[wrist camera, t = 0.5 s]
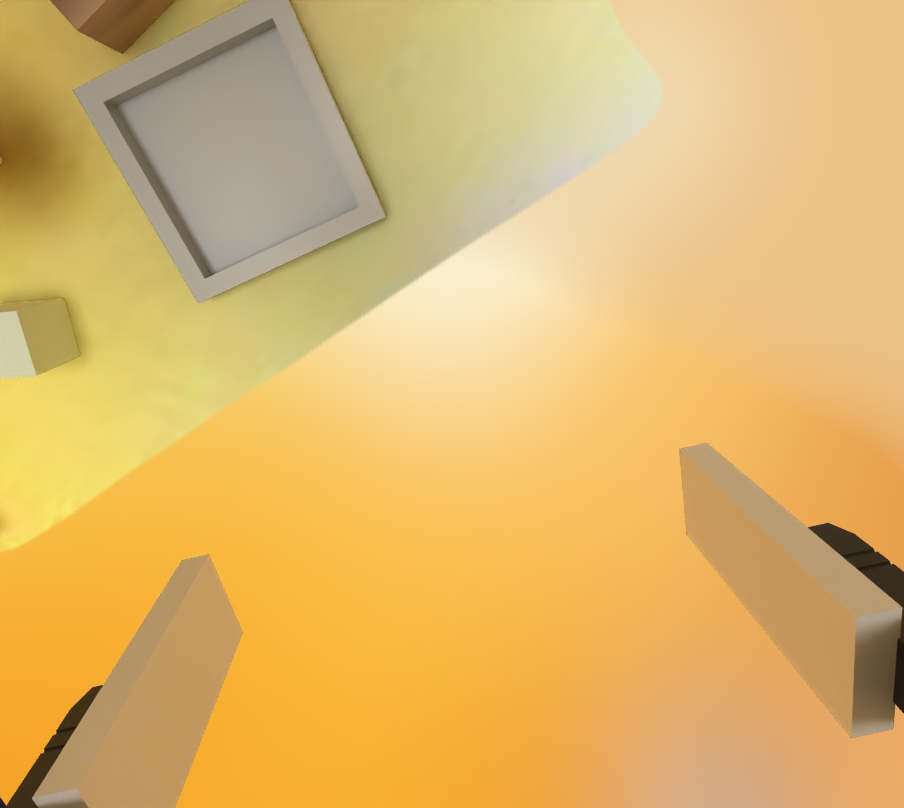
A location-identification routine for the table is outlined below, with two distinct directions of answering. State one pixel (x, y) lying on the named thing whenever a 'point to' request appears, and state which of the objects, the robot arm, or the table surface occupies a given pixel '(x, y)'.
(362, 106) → the table surface
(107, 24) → the walnut cube
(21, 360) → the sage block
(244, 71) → the tray
